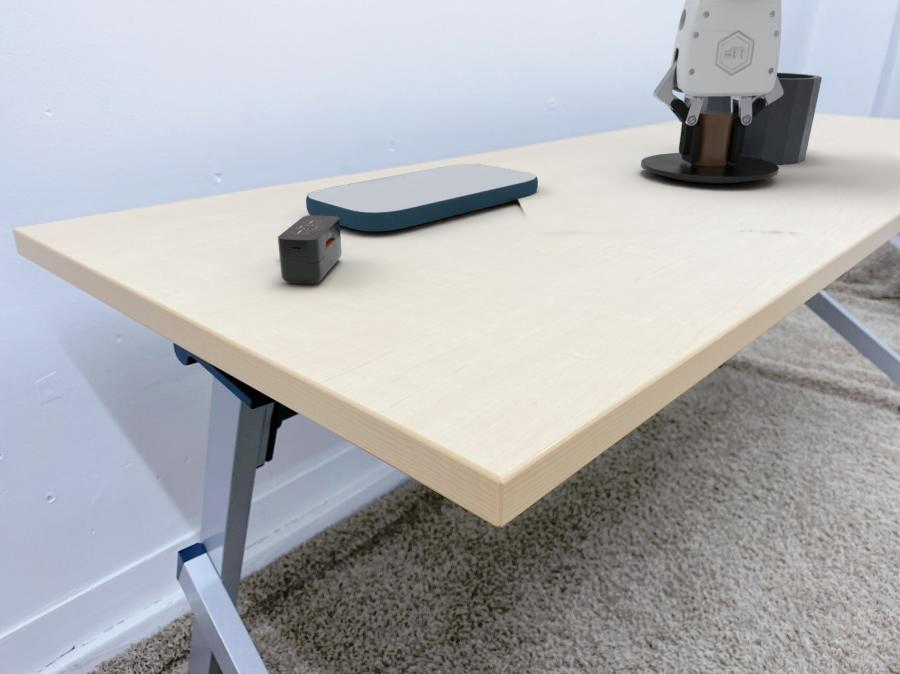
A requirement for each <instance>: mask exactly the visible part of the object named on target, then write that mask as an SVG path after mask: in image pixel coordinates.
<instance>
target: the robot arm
mask: <svg viewBox="0 0 900 674" xmlns="http://www.w3.org/2000/svg"><path fill="white" fill-rule="evenodd" d="M677 26H678V27H677V30H676V35H675V39H674V45H673V50H672V56H671V60H670V67H669V69H668V70H667V72H665V75H664V76H663V77H662V79H661V80H660V81H659V83H658V85H657V86H656V88H655V89H654V90H653V94H652V96H653V97H654V98H655V99H656V100H658V101H659V102H661V103H662V104H663V105H665V106H666V107H668V108H669V109H670V111H671V112H672V113H673V114H674V115H675V116H676V118H677V119H678V121H679V122H680V123H681V127H680V136H679V143H678V153H680V154H682V159H683V160H685V161H686V162H688V163H695V162H697V158H698V151H699V143H700V136H701V127H700V126H699V125H698V117H699V114H700V111H701V107H702V104H703V101H704V97H705V96H731V112H733V113H734V116H733V123H732V130H731V136H730V143H729V150H728V156H727V161H729V162H731V163H736V162H737V160H738V154H740V153H741V152H742V149H743V142H744V136H745V130H746V125H748V124H750V123H751V121H752V118H754V117H755V116H756V115H757V114H758V113H759V112H760V111H761V110H762V109H763V108H764V107H765V106H766V105H769V104H770V103H772V102H774V101H775V100H777V99H778V98H780V97H781V96H782V95H783V93H784V91H783V88H782V86H781V84H780V81H779V79H778V76H777V73H778V69H779V61H780V49H781V38H782V37H781V36H782V0H684V4H683V8H682V11H681V15H680V18H679V22H678V25H677ZM673 91H675V92H677V93H682V94H684V95H683V98H682V99H680V98H679V97H678V96H676V95H675V94H674V93H673ZM757 95H758V96H757ZM752 96H756V97H752Z"/></svg>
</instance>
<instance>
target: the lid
mask: <svg viewBox="0 0 900 674" xmlns="http://www.w3.org/2000/svg"><path fill="white" fill-rule="evenodd" d="M733 116H734V113H733V112H728V111H700V114H699V117H698V125H699V126H700V127H701V136H700V143H699V151H698V158H697V162H695V163H688V162H686V161H685V160H683V159H682V154H680V153H679V152H670V153H669V152H668V153H660V154H654V155H649V156H646V157H643V158H642V159H641V160H640V161H641V162H640V168H641V169H643V170H644V171H647V172H649V173H651V174H655V175H658V176H662V177H664V178H668V179H673V180H677V181H683V182H691V183H699V184H700V183H701V184H740V183H741V184H742V183H748V182H752V181H761V180H766V179H771V178H773V177H776V176H777V175H778V174H779V172H780V171H779V170H780V167H779V165H776V164H774V163H771V162H769V161H765V160H761V159H757V158H752V157H746V156H738V160H737V162H736V163H731V162H729V161H727V156H728V150H729V143H730V136H731V130H732V123H733Z"/></svg>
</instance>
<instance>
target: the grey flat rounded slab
mask: <svg viewBox="0 0 900 674" xmlns="http://www.w3.org/2000/svg"><path fill="white" fill-rule="evenodd" d="M538 186H539V179H538V177H537V175H535V174H534V173H530V172H525V171H522V170H521V171H520V170H515V169H510V168H504V167H498V166H493V165H486V164H477V163H465V164H464V163H463V164H462V163H461V164H452V165H446V166H439V167H435V168H434V167H433V168H429V169H425V170H418V171H413V172H407V173H402V174H396V175H391V176H386V177H380V178H375V179H369V180H364V181H358V182H353V183H352V182H351V183H347V184H342V185H337V186H331V187H326V188H322V189H317V190H313V191H311V192H309V193H308V194H307V195H306V197H305V206H306V211H307V213H308V215H309V216H310V215H314V216H336V217H339V218H340V226H342V227H345V228H348V229H353V230H356V231H363V232H386V231H394V230H400V229H405V228H409V227H413V226H417V225H422V224H426V223H429V222H434V221H437V220H442V219H445V218H446V219H447V218H450V217H453V216H458V215H462V214H465V213H470V212H473V211H478V210H482V209H484V208H485V209H486V208H490V207H494V206H497V205H501V204H506V203H510V202H513V201H517V200H519V199H523V198H525V197H526V198H527V197H530V196H532V195H534V194H536V193H537V191H538Z"/></svg>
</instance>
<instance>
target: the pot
mask: <svg viewBox="0 0 900 674" xmlns="http://www.w3.org/2000/svg"><path fill="white" fill-rule="evenodd" d="M777 76H778V79H779V81H780V84H781V86H782V88H783V91H784V93H783V95H782V96H781V97H780V98H778V99H777V100H775V101H774V102H772V103H770V104H769V105H766V106H765V107H764V108H763V109H762V110H761V111H760V112H759V113H758V114H757V115H756V116H755V117H754V118H752V121H751V123H750V124H748V125H746V130H745V136H744V142H743V149H742V152H741V153H740V154H738V156H746V157H752V158H757V159H761V160H765V161H769V162H771V163H774V164H776V165H777V166H788V165H797V164H800V163H802V162H806V161H805V160H806V157H807V151H808V146H809V141H810V138H811V133H812V127H813V123H814V117H815V114H816V107H817V103H818V98H819V94H820V88H821V84H822V79H823V78H822V76H820V75H814V74H807V73H795V72H777ZM757 96H758V95H757ZM752 97H756V96H752ZM701 111H728V112H731V96H705V97H704V101H703V104H702V107H701Z"/></svg>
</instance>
